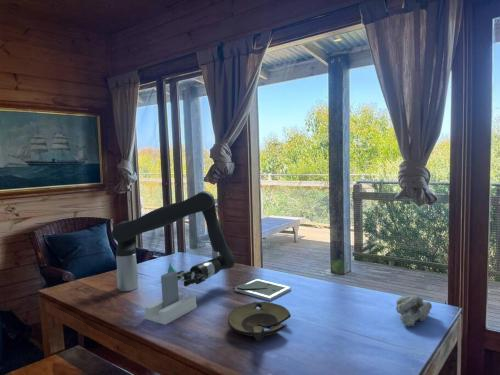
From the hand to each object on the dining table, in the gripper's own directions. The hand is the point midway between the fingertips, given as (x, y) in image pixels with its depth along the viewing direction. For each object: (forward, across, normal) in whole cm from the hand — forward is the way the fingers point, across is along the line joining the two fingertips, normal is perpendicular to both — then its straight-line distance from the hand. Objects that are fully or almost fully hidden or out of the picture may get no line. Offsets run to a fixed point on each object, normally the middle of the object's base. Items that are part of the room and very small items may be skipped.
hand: (176, 282), depth 151 cm
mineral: (-34, +85, +12) cm, 92 cm away
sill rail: (+4, 0, +12) cm, 12 cm away
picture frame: (-34, +20, +12) cm, 42 cm away
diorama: (-34, -32, +12) cm, 48 cm away
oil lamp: (+1, +39, +12) cm, 41 cm away
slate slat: (+4, 0, +10) cm, 11 cm away
